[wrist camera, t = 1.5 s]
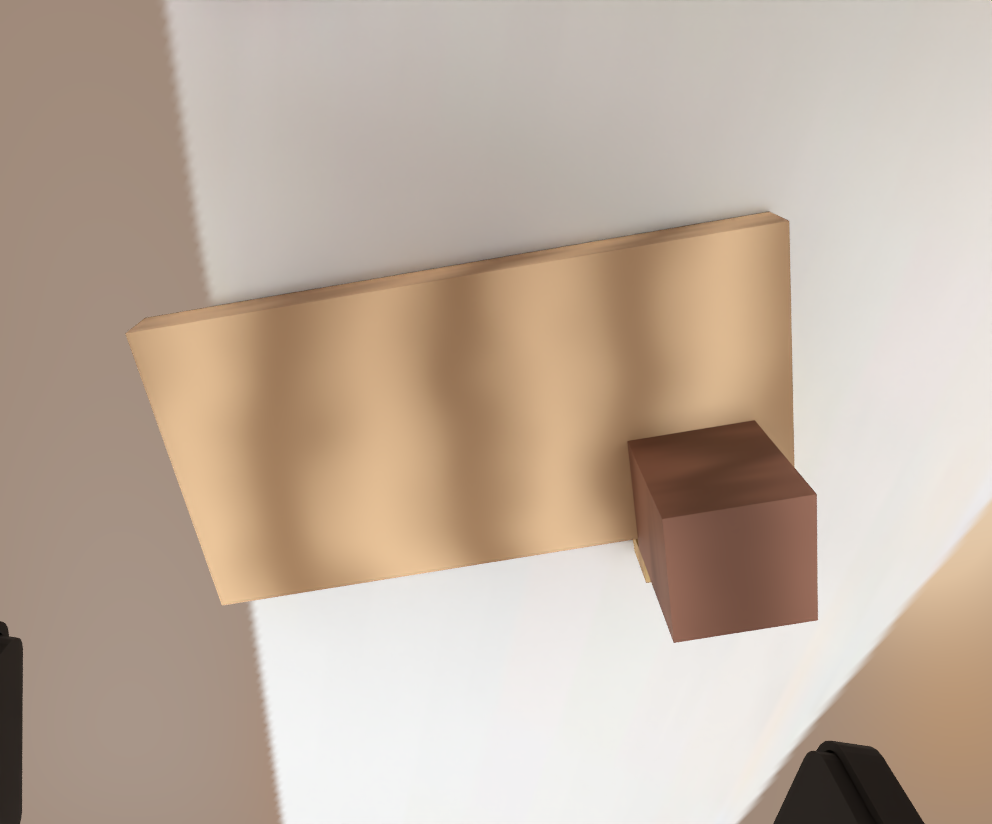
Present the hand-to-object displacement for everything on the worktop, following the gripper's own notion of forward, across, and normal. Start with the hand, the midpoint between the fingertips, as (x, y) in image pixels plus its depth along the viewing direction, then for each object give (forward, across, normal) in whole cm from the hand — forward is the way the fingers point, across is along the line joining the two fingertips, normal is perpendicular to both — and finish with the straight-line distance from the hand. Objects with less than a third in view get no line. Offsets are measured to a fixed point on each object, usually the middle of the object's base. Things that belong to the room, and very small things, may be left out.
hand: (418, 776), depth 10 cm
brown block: (+23, -11, +6) cm, 26 cm away
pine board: (+24, -2, +4) cm, 24 cm away
